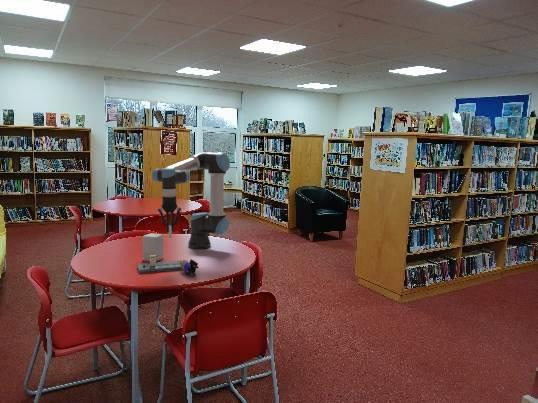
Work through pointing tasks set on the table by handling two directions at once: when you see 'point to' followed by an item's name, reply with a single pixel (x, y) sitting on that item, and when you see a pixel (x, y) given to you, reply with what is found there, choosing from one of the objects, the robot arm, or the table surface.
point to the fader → (153, 260)
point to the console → (159, 267)
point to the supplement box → (152, 246)
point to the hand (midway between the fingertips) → (170, 237)
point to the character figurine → (189, 266)
